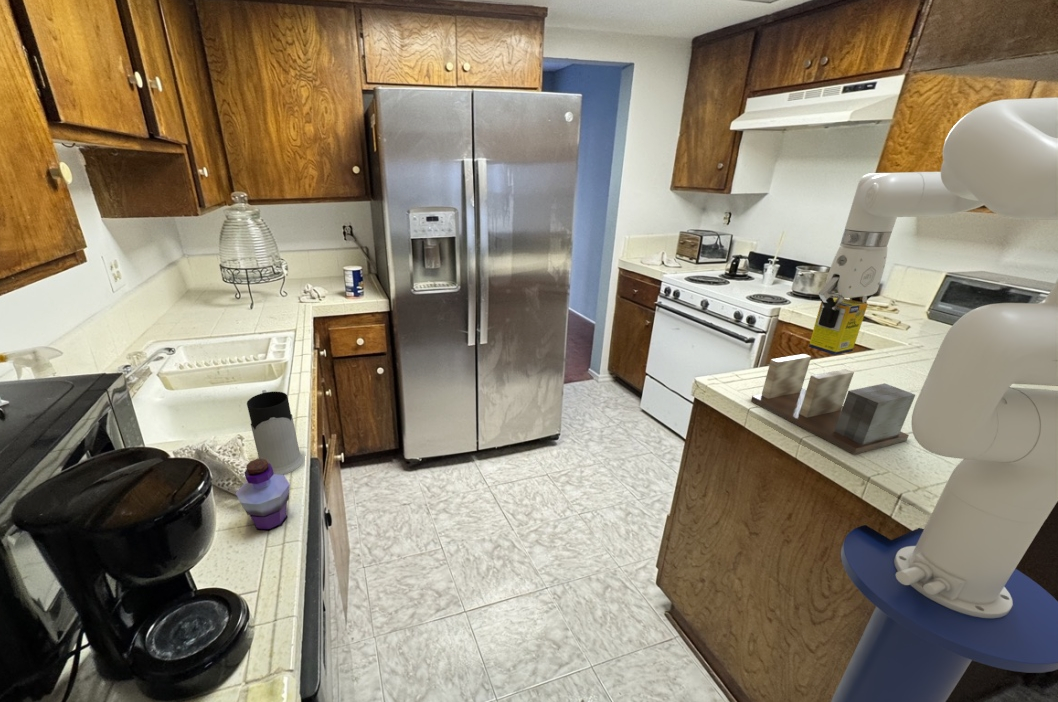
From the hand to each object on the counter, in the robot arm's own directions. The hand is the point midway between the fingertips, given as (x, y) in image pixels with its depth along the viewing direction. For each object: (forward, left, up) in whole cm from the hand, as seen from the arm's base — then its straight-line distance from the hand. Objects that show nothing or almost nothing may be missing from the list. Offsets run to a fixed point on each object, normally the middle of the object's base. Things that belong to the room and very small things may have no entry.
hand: (837, 323), depth 101 cm
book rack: (+3, -1, -24) cm, 24 cm away
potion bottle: (-120, +5, -24) cm, 123 cm away
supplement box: (0, 0, -6) cm, 6 cm away
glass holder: (-120, +26, -24) cm, 125 cm away
